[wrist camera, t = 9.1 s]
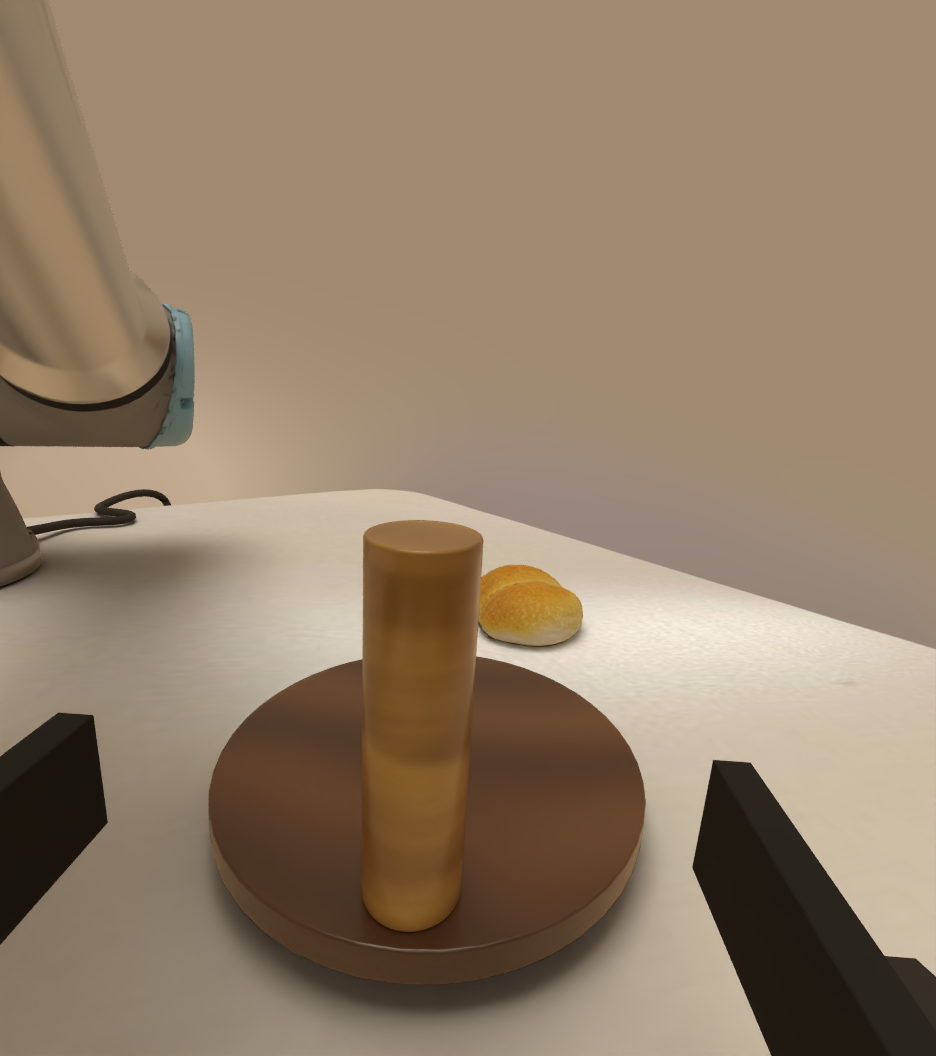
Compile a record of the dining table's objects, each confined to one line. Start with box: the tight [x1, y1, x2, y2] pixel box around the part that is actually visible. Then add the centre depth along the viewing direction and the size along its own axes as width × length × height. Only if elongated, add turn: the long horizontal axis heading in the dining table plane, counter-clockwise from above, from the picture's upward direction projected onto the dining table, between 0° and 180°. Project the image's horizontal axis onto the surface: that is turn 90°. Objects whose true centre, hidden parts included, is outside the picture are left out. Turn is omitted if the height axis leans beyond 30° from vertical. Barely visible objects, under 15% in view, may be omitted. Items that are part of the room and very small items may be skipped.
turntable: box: [208, 520, 646, 984], centre depth 22 cm, size 17×17×12 cm
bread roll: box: [478, 565, 583, 646], centre depth 41 cm, size 8×9×4 cm
